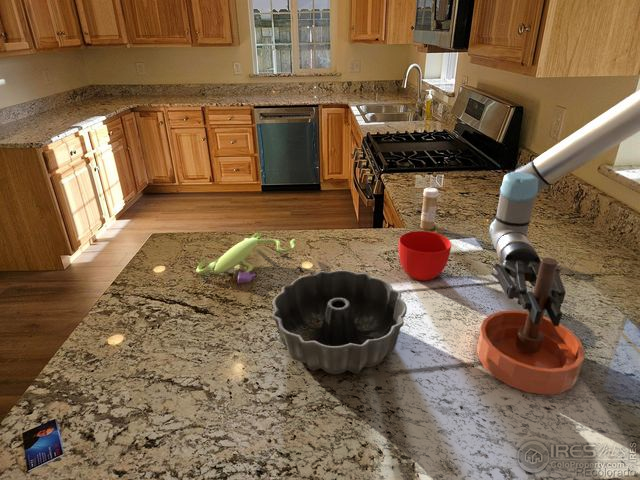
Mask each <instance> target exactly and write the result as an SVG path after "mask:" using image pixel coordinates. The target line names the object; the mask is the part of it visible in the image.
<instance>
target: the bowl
mask: <svg viewBox="0 0 640 480" xmlns="http://www.w3.org/2000/svg"><path fill="white" fill-rule="evenodd" d="M527 316H528V311H523V310H502V311H498V312H495V313H491V314H490V315H488V316H487V317H485V318H484V319H483V321H482V323H481V326H480V330H479V335H478V340H477V344H476V353H477V358H478V360H479V361H480V363H481V365H482V367H483V368H484V369H485V370H486V371H487V372H488V373H489V374H491V375H492V377H494V378H496V379H497V380H499V381H501V382H502V383H504V384H505V385H507V386H509V387H511V388H514V389H517V390H520V391H522V392H525V393H531V394H538V395H556V394H562V393H564V392H566V391H568V390H570V389H572V387H574V385H575V384H576V382H577V381H578V378H579V376H580V372H581V369H582V367H583V365H584V361H585V355H586V354H585V353H586V350H585V347H584V345H583V344H582V342H581V339H580V338H579V337H578V336H577V335H576V334H574V332H573V331H572V330H571V329H569V328H568V327H566V326H565V325H562V324H561V322H560V323H559V326H554V325H553V323H552V321H551V319H550V317H546V316H545V315H544V316H543V320H542V323H541V327H540V332H541V333H542V334H543V340H542V344H541V347H540V350H539V352H537V353H527V352H524V351H522V350H520V349H519V348H518V347H517V346H516V338H517V334H518V330H519V329H520V328H521V327H525V324H526V320H527Z"/></svg>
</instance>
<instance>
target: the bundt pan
mask: <svg viewBox="0 0 640 480" xmlns="http://www.w3.org/2000/svg"><path fill="white" fill-rule="evenodd" d="M272 309H273V312H272V314H271V318H272V319H271V320H273V321H275V325H276V329H277V331H278V336H279V339H280V341H281V343H282V344H283V345H284V347H286V348H287V351H288V353H289V354H290V356H291V357H292V358H293V359H294V360H296V361H298V362H300V363H304V364H306V365H307V367H308V369H309V370H310V371H318V370H320V369H322V370H323V371H324V372H326V373H327V374H331V375H340V374H343V373H345V372H346V371H349V372H351V373H353V374H359V373H360V372H361V371H362V369H363V368H373V367H376V366H377V365H379V364H380V363H381V362H382V361H383V360H384V359H385V357H386V356H388V355H390V354H392V353H393V352H394V350H395V348H396V346H397V342H398V339H399V335H400V332H401V328H402V327H403V326H404V324H405V322H404V318H405V316H406V315H407V310H408V307H407V304H406V302H405V301H404V299H402V292H401V291H399V290H397V289H394V288H393V285H391V284H390V282H388V281H386V280H384V279H382V278H379V277H373V276H372V275H370V274H368V273H367V272H362V273H361V272H360V273H358V272H355V271H351V270H344V269H343V270H342V269H340V270H333V271H323V270H322V271H318V272H317V273H315V274H307V275H302V276H300V277H298V278H296V279H295V280H293V281H292V282H291V283H290V284H287V285H284V286H282V287H281V292H280V293H278V294H277V295H276V296H275V297H274V298H273V300H272ZM356 319H357V320H356ZM314 320H317V321H320V322H321V325H314V324H313V323H312V322H313V321H314ZM364 326H367V327H364ZM302 327H303V328H302ZM305 327H306V328H309V329H311V330H313V331H308V330H305V329H304V328H305ZM372 334H373V335H372ZM301 335H305V336H306V335H307V336H308V337H309V339H307V340H304V339H303V337H302V336H301Z"/></svg>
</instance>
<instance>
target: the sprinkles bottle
mask: <svg viewBox="0 0 640 480" xmlns="http://www.w3.org/2000/svg"><path fill="white" fill-rule="evenodd" d="M438 197H439V189H438V188H434V187H425V188H424V189H423V201H422V209H421V215H420V216H421V217H420V218H421V219H420V225H419V227H420V228H421V229H423V230H429V231H430V230H433V229H435V221H436V215H437V207H438Z"/></svg>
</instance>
